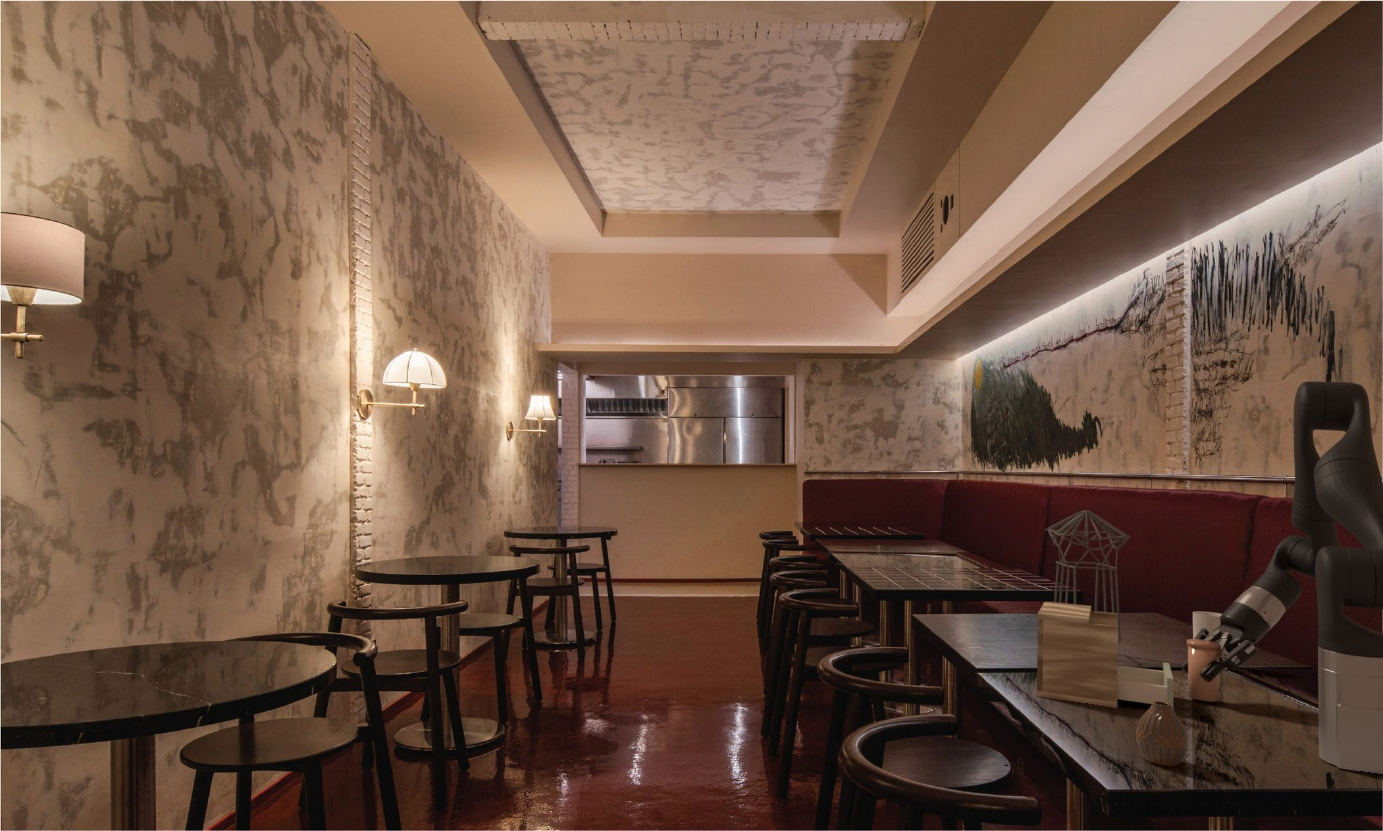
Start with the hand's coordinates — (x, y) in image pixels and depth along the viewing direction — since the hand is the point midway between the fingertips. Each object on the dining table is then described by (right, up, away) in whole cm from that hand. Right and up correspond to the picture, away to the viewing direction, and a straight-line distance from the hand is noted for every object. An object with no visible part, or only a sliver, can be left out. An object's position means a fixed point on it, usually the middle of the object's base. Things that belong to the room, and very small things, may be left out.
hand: (1194, 674), depth 165 cm
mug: (+24, -8, +32) cm, 41 cm away
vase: (-27, -2, -37) cm, 46 cm away
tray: (-13, -4, -1) cm, 13 cm away
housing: (-21, -5, +4) cm, 22 cm away
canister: (+2, -4, 0) cm, 5 cm away
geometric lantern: (-4, -7, +38) cm, 39 cm away
